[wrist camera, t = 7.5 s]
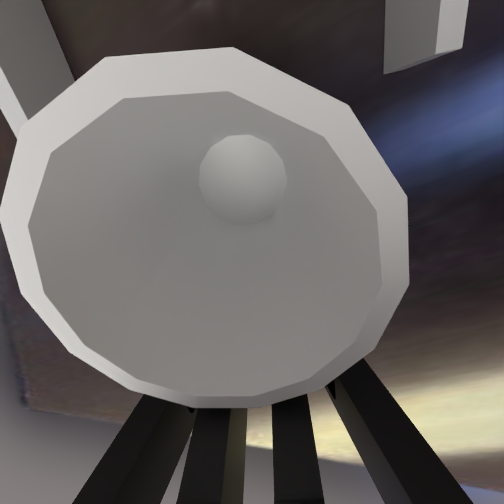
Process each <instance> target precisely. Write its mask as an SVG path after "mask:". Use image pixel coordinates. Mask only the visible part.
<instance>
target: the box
mask: <svg viewBox="0 0 504 504" xmlns="http://www.w3.org/2000/svg"><path fill="white" fill-rule="evenodd" d="M468 2H469V0H386V4H385V37H384V70H383V75H384V74H388V73H393V72H397V71H401V70H404V69H407V68H410V67H412V66H415V65H418V64H420V63H423V62H426V61H429V60H431V59H434V58H437V57H439V56H442V55H445V54H448V53H450V52H453V51H456V50H458V49H461V48H462V45H463V38H464V31H465V23H466V16H467V9H468ZM74 82H75V80H74V78H73V75H72V73H71V71H70V68H69V66H68V63H67V61H66V59H65V56H64V54H63V51H62V49H61V47H60V44H59V42H58V39H57V37H56V35H55V32H54V30H53V28H52V25H51V23H50V20H49V18H48V16H47V13H46V11H45V8H44V6H43V4H42V1H41V0H0V109H1V110H2V112H3V114H4V116H5V118H6V119H7V121H8V123H9V125H10V127H11V129H12V130H13V132H14V134H15V136H16V138H17V140H18V136H19V132H20V128H21V126H22V125H23V124H25V123H26V122H27V121H28V120H29V119H31V118H32V117H33V116H34V115H36V114H37V113H38V112H39V111H40V110H42V109H43V108H44V107H45V106H46V105H48V104H49V103H50V102H51V101H53V100H54V99H55V98H56V97H57V96H59V95H60V94H61V93H62V92H63V91H65V90H66V89H67V88H68V87H70V86H71V85H72V84H73V83H74Z"/></svg>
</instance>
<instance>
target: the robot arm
mask: <svg viewBox="0 0 504 504" xmlns="http://www.w3.org/2000/svg"><path fill="white" fill-rule="evenodd" d="M325 388H326V390H327V392H328V394H329V396H330V398H331V400H332V402H333V404H334V406H335V408H336V410H337V412H338V414H339V416H340V417H341V419H342V421H343V423H344V425H345V427H346V429H347V431H348V433H349V435H350V437H351V439H352V441H353V443H354V445H355V447H356V449H357V451H358V452H359V454H360V456H361V458H362V460H363V462H364V464H365V466H366V468H367V470H368V472H369V474H370V476H371V478H372V480H373V482H374V483H375V485H376V487H377V489H378V491H379V493H380V495H381V497H382V499H383V501H384V503H385V504H473V502H472V501H471V500H470V498H469V497H468V496H467V494H466V493H465V492H464V491H463V489H462V488H461V486H460V485H459V484H458V482H457V481H456V480H455V479H454V477H453V476H452V475H451V473H450V472H449V471H448V469H447V468H446V467H445V465H444V464H443V463H442V461H441V460H440V459H439V457H438V456H437V455H436V453H435V452H434V451H433V449H432V448H431V447H430V445H429V444H428V443H427V442H426V440H425V439H424V438H423V436H422V435H421V434H420V432H419V431H418V430H417V428H416V427H415V426H414V424H413V423H412V422H411V420H410V419H409V418H408V416H407V415H406V414H405V412H404V411H403V410H402V408H401V407H400V406H399V405H398V403H397V402H396V401H395V399H394V398H393V397H392V395H391V394H390V393H389V391H388V390H387V389H386V387H385V386H384V385H383V383H382V382H381V381H380V379H379V378H378V377H377V375H376V374H375V373H374V372H373V370H372V369H371V368H370V366H369V365H368V364H367V362H366V361H365V360H364V358H362V359H360V360H359V361H358V362H356V363H355V364H354V365H352V366H351V367H350V368H348V369H347V370H346V371H344V372H343V373H342V374H340V375H339V376H338V377H336V378H335V379H334V380H332V381H331V382H330V383H328V384H327V385H326V386H325ZM192 429H193V431H192ZM246 429H247V408H192V407H189V406H185V405H182V404H178V403H175V402H171V401H168V400H164V399H161V398H157V397H154V396H150V395H146V394H144V395H143V396H142V398H141V399H140V401H139V402H138V404H137V406H136V407H135V409H134V410H133V412H132V413H131V415H130V416H129V418H128V419H127V421H126V422H125V424H124V425H123V427H122V428H121V430H120V431H119V433H118V434H117V436H116V438H115V439H114V441H113V442H112V444H111V445H110V447H109V448H108V450H107V452H106V453H105V454H104V456H103V457H102V459H101V460H100V462H99V463H98V465H97V466H96V468H95V470H94V471H93V473H92V474H91V476H90V477H89V479H88V480H87V482H86V483H85V485H84V486H83V488H82V489H81V491H80V492H79V494H78V495H77V497H76V498H75V500H74V502H73V503H72V504H160V503H161V500H162V498H163V496H164V494H165V491H166V489H167V487H168V484H169V482H170V480H171V477H172V475H173V473H174V470H175V468H176V466H177V464H178V461H179V459H180V457H181V455H182V452H183V450H184V448H185V445H186V443H187V441H188V438H189V436H190V434H191V432H192V436H191V441H190V445H189V449H188V454H187V458H186V463H185V467H184V472H183V477H182V481H181V485H180V490H179V494H178V499H177V502H176V504H243V492H244V469H245V449H246ZM272 433H273V467H274V504H325V503H324V497H323V490H322V484H321V478H320V471H319V465H318V459H317V453H316V446H315V440H314V434H313V428H312V422H311V415H310V409H309V403H308V397H307V394H304V395H300V396H297V397H294V398H290V399H287V400H284V401H280V402H277V403H274V404H272Z"/></svg>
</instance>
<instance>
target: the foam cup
mask: <svg viewBox="0 0 504 504" xmlns="http://www.w3.org/2000/svg"><path fill="white" fill-rule="evenodd" d="M0 223H1V226H2V229H3V233H4V236H5V240H6V243H7V246H8V250H9V253H10V257H11V260H12V264H13V267H14V270H15V274H16V277H17V281H18V284H19V288H20V291H21V294H22V295H23V296H24V298H25V299H26V300H27V301H28V303H29V304H30V305H31V306H32V307H33V309H34V310H35V311H36V312H37V313H38V315H39V316H40V317H41V318H42V319H43V321H44V322H45V323H46V324H47V326H48V327H49V328H50V329H51V330H52V332H53V333H54V334H55V335H56V336H57V338H58V339H59V340H60V341H61V342H62V344H63V345H64V346H65V347H66V349H67V350H68V351H69V352H70V353H72V354H73V355H75V356H76V357H78V358H80V359H81V360H83V361H84V362H86V363H88V364H89V365H91V366H92V367H94V368H96V369H97V370H99V371H100V372H102V373H104V374H105V375H107V376H108V377H110V378H112V379H113V380H115V381H116V382H118V383H120V384H121V385H123V386H124V387H126V388H128V389H129V390H132V391H136V392H139V393H143V394H146V395H150V396H154V397H157V398H161V399H164V400H168V401H171V402H175V403H178V404H182V405H185V406H189V407H192V408H261V407H264V406H267V405H271V404H274V403H277V402H280V401H284V400H287V399H290V398H294V397H297V396H300V395H304V394H307V393H310V392H313V391H317V390H320V389H322V388H323V387H324V386H326V385H327V384H328V383H330V382H331V381H332V380H334V379H335V378H336V377H338V376H339V375H340V374H342V373H343V372H344V371H346V370H347V369H348V368H350V367H351V366H352V365H354V364H355V363H356V362H358V361H359V360H360V359H362V358H363V357H364V356H366V355H367V354H368V353H370V352H371V351H372V350H374V349H375V347H376V345H377V343H378V341H379V340H380V338H381V336H382V334H383V332H384V330H385V328H386V327H387V325H388V323H389V321H390V319H391V317H392V315H393V313H394V312H395V310H396V308H397V306H398V304H399V302H400V300H401V299H402V297H403V295H404V293H405V291H406V289H407V287H408V286H409V250H408V204H407V196H406V194H405V193H404V191H403V190H402V188H401V186H400V185H399V183H398V182H397V180H396V179H395V177H394V176H393V174H392V172H391V171H390V169H389V168H388V166H387V165H386V163H385V161H384V160H383V158H382V157H381V155H380V154H379V152H378V151H377V149H376V147H375V146H374V144H373V143H372V141H371V140H370V138H369V137H368V135H367V133H366V132H365V130H364V129H363V127H362V126H361V124H360V122H359V121H358V119H357V118H356V116H355V115H354V113H353V112H352V110H351V108H350V107H349V105H347V104H345V103H343V102H341V101H339V100H337V99H335V98H333V97H331V96H329V95H327V94H325V93H323V92H321V91H319V90H317V89H315V88H313V87H311V86H309V85H307V84H305V83H303V82H301V81H300V80H298V79H296V78H294V77H292V76H290V75H288V74H286V73H284V72H282V71H280V70H278V69H276V68H274V67H272V66H270V65H268V64H266V63H264V62H262V61H260V60H258V59H256V58H254V57H252V56H250V55H248V54H246V53H244V52H242V51H240V50H238V49H236V48H234V47H227V48H214V49H202V50H189V51H177V52H164V53H152V54H140V55H127V56H115V57H105V58H104V59H102V60H101V61H100V62H99V63H97V64H96V65H95V66H94V67H93V68H91V69H90V70H89V71H88V72H87V73H85V74H84V75H83V76H82V77H80V78H79V79H78V80H77V81H76V82H74V83H73V84H72V85H71V86H70V87H68V88H67V89H66V90H65V91H63V92H62V93H61V94H60V95H59V96H57V97H56V98H55V99H54V100H53V101H51V102H50V103H49V104H48V105H46V106H45V107H44V108H43V109H42V110H40V111H39V112H38V113H37V114H36V115H34V116H33V117H32V118H31V119H29V120H28V121H27V122H26V123H25V124H23V125H22V126H21V128H20V132H19V136H18V140H17V144H16V148H15V152H14V156H13V160H12V164H11V168H10V172H9V175H8V179H7V183H6V187H5V191H4V195H3V199H2V203H1V207H0Z"/></svg>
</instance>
